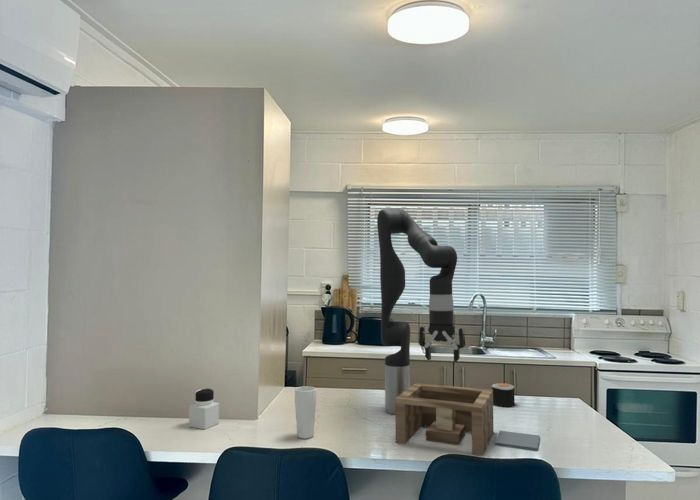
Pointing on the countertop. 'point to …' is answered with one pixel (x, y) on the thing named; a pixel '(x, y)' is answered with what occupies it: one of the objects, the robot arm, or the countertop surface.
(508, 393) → the sushi
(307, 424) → the drinking glass
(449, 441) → the frame
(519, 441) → the grey mat
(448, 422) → the maple block
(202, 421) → the medicine bottle
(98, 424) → the countertop surface
